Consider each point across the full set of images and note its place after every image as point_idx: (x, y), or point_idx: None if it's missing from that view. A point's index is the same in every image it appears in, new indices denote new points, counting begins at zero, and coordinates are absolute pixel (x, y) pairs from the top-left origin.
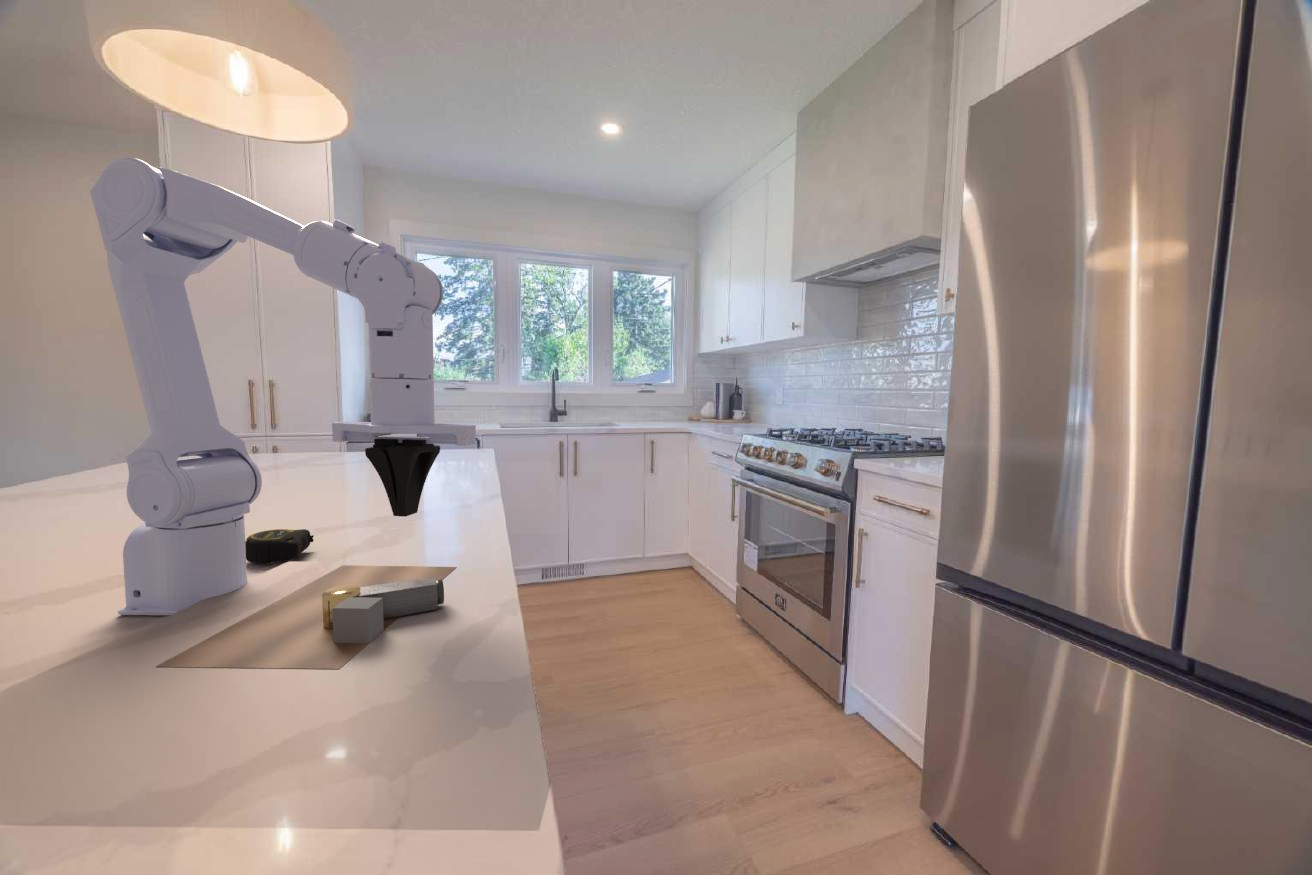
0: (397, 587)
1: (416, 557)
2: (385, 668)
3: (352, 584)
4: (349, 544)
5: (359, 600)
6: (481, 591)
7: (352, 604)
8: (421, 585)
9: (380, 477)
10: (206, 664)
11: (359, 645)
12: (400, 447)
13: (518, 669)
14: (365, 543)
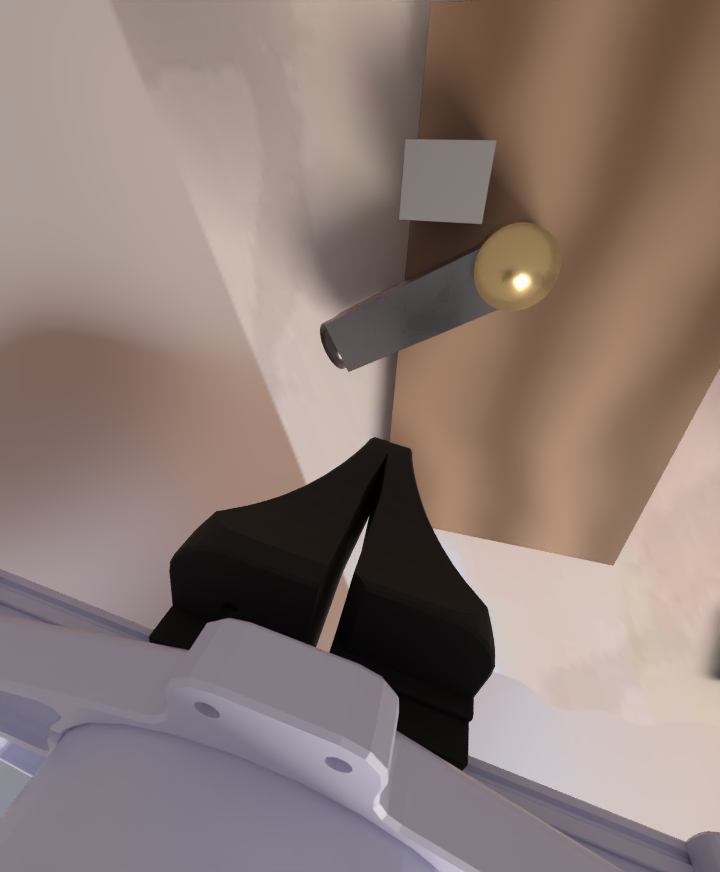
0: (400, 308)
1: (491, 609)
2: (378, 118)
3: (557, 462)
4: (644, 697)
5: (447, 198)
6: (328, 445)
7: (454, 168)
8: (353, 317)
9: (427, 523)
10: None
11: (431, 136)
12: (232, 559)
13: (159, 120)
14: (612, 693)
